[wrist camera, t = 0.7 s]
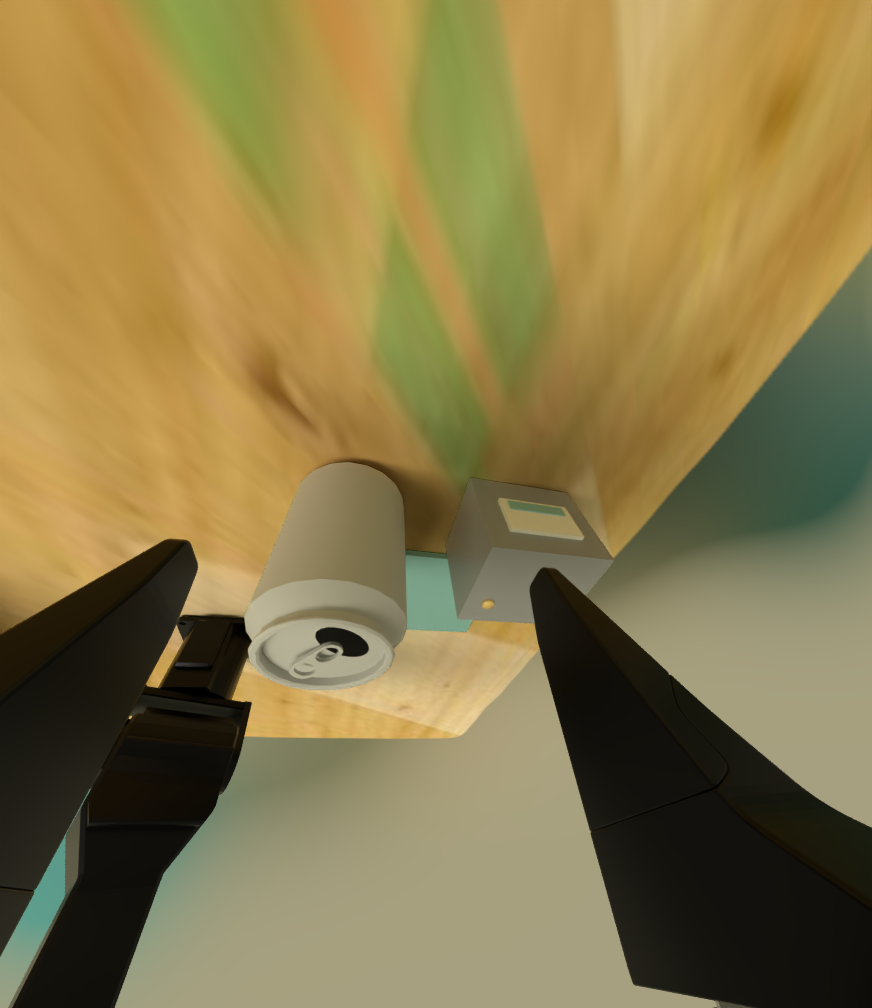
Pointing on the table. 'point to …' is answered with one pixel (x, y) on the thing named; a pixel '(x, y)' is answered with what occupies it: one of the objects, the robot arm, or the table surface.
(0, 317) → the table surface
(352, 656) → the can
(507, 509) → the unit
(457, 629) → the mat
